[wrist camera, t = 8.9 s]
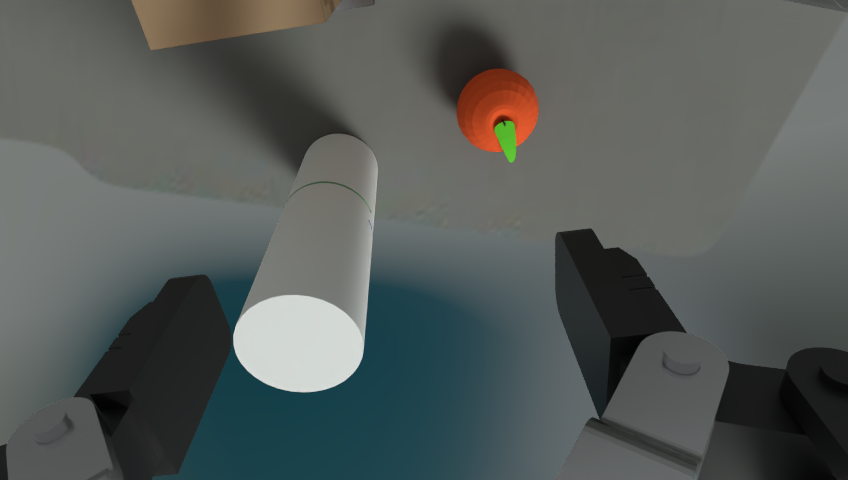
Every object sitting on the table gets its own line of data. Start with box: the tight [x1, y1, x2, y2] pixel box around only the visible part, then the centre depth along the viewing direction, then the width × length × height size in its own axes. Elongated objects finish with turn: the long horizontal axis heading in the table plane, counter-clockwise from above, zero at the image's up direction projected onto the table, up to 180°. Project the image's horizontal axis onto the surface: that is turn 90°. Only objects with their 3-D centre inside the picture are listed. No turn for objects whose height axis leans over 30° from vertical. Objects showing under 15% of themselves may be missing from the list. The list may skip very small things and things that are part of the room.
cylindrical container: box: [234, 134, 378, 392], centre depth 40 cm, size 7×7×25 cm
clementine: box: [457, 69, 539, 162], centre depth 45 cm, size 8×7×7 cm
